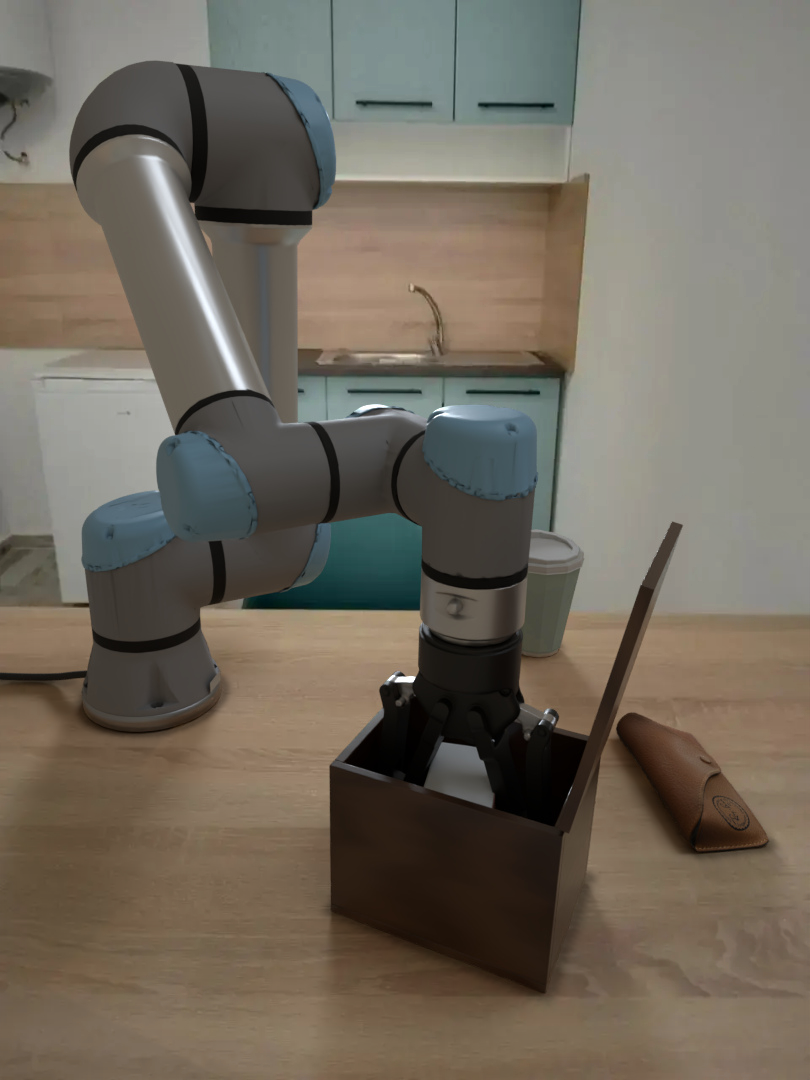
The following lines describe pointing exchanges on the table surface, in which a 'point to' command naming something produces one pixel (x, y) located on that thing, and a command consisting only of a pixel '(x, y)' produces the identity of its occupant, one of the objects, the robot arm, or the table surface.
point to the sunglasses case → (691, 786)
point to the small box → (460, 774)
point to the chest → (459, 857)
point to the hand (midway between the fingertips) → (457, 878)
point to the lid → (620, 673)
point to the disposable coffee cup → (549, 591)
